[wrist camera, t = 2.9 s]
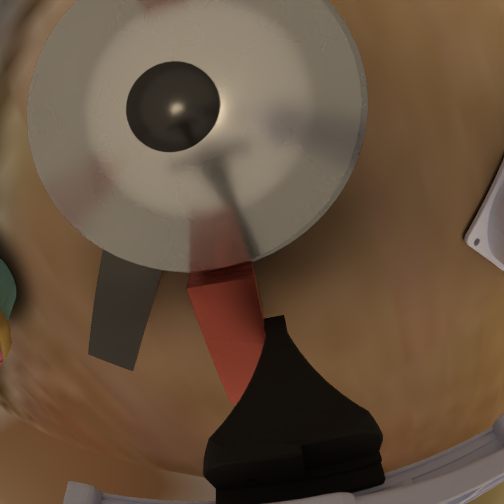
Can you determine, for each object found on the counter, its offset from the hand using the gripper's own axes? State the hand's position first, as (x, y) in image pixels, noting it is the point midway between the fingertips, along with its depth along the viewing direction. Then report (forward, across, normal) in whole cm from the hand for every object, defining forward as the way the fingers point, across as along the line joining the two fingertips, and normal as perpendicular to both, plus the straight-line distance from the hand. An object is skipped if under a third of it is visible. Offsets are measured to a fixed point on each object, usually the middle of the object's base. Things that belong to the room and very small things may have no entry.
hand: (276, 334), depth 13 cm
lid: (0, +2, -8) cm, 8 cm away
